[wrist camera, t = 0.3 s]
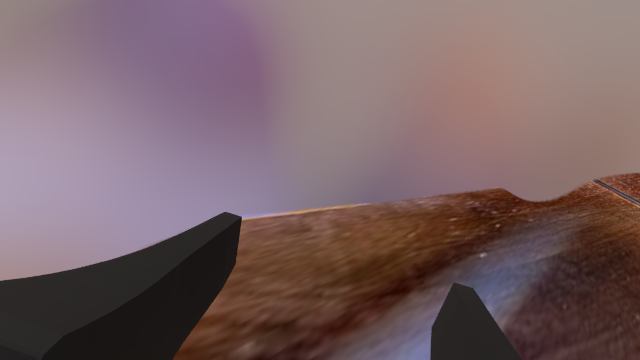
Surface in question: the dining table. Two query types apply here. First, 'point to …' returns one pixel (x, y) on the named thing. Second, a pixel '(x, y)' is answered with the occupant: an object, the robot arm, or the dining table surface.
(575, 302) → the dining table surface
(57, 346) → the robot arm
